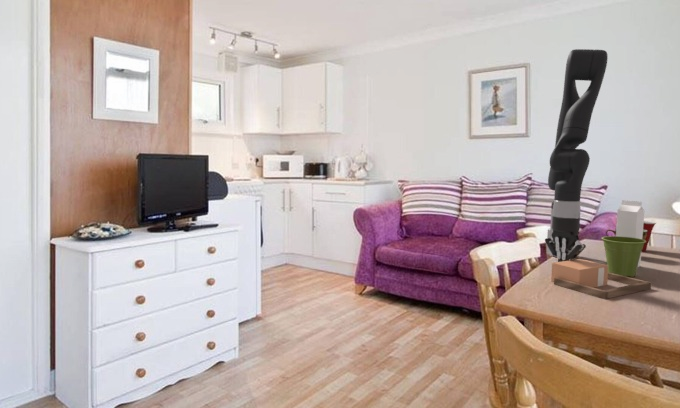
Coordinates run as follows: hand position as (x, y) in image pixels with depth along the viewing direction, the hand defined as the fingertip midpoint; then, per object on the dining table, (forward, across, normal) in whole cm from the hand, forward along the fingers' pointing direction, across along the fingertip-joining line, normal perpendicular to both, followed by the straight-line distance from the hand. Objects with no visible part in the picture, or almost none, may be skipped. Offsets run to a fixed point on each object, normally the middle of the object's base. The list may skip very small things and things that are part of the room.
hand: (562, 271), depth 140 cm
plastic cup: (+2, -14, +61) cm, 63 cm away
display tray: (+2, +12, 0) cm, 12 cm away
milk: (+2, 0, +31) cm, 31 cm away
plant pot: (+2, +6, +18) cm, 20 cm away
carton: (+2, +7, -2) cm, 8 cm away
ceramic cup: (+2, -10, +46) cm, 47 cm away
